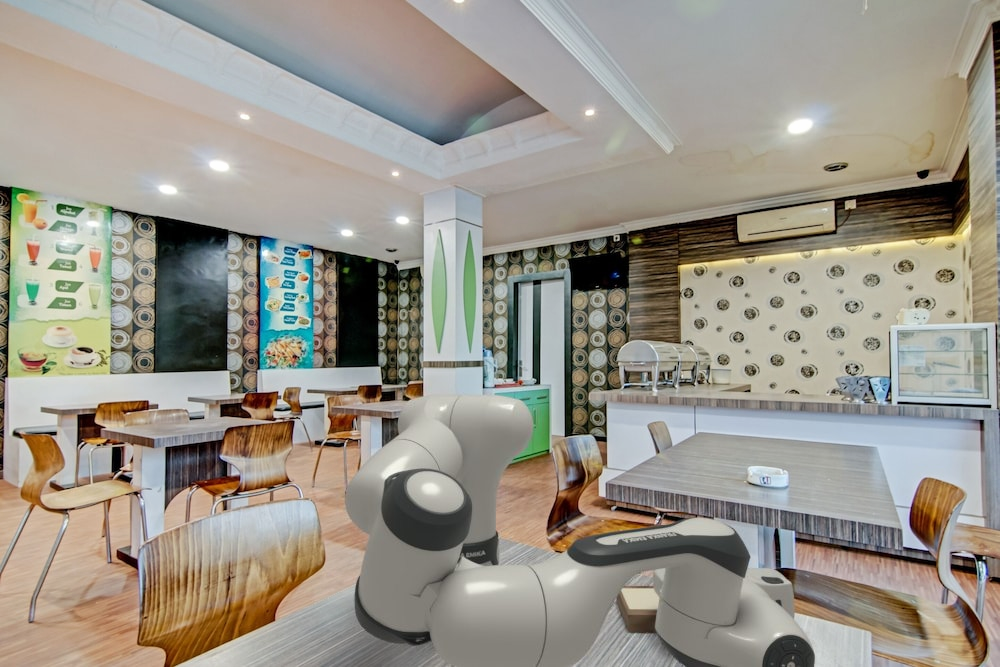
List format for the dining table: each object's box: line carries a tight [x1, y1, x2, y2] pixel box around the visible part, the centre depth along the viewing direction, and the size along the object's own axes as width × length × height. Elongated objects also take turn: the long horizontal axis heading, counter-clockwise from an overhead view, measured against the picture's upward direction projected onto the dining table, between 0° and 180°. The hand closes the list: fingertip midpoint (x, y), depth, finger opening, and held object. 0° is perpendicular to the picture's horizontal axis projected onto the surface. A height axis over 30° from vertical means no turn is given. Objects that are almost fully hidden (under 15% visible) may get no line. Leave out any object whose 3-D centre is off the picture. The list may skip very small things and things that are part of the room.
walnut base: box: [615, 585, 660, 634], centre depth 89 cm, size 9×11×3 cm
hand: (702, 567), depth 90 cm, fingers closed on soda can, 7 cm apart
